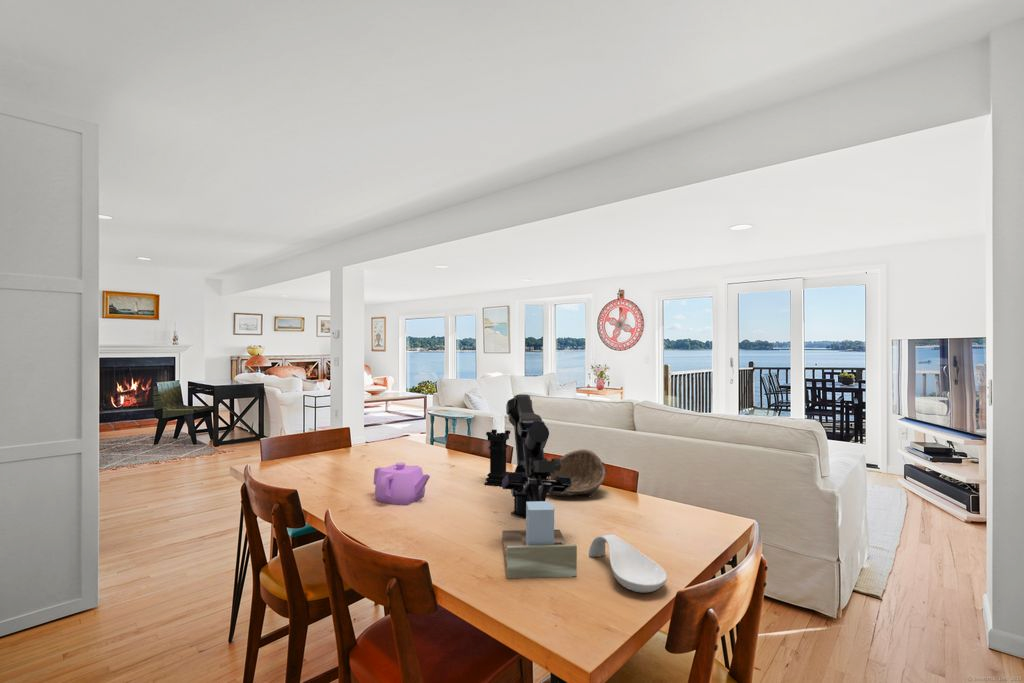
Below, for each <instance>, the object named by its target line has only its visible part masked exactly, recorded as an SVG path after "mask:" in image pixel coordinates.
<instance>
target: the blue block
mask: <svg viewBox="0 0 1024 683" xmlns="http://www.w3.org/2000/svg"><path fill="white" fill-rule="evenodd" d="M525 530H526V546H528V545H554V530H555V508H554V506H553V504H552V501H549V500H547V501H546V500H545V501H535V502H526V518H525Z"/></svg>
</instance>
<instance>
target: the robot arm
mask: <svg viewBox="0 0 1024 683" xmlns="http://www.w3.org/2000/svg"><path fill="white" fill-rule="evenodd" d="M505 409H506V410H505V413H506V415H507V416H508V422H509V423H510V424H511V425H512V427H513V429H514V441H515V450H516V463H517V465H516V467H515V470H514V471H513V472H512V471H508V472H509V473H508V474H507V475H506V476H505V477H504V478H503V480H502V487H501V488H502V489H503V490H510V493H511V496H512V498H514V499H513V500H514V504H513V505H514V506H513V509H514V510H512V511H511V512H510V514H511V515H514V516H516V517H520V518H523V519H526V502H535V501H546V499H547V495H548V492H549V491H550V490H552V491H553V492H560V493H562V492H565V491H566V490H567V489H569V488H570V487H571V486H572V481H571V478H570V477H569V476H559V475H557V476H556V477H555V478H554V479H553V480H552V479H547V478H548V477H550V476H551V473H553V474H555V471H560V469H561V462H560V458H556V457H554V458H551V460H548V458H547V457H545V451H544V449H545V447H546V445H547V442H548V439H549V436H550V430H549V428H548V427H547V425H546V424H545V422H544V421H543V419H542V417H541V415H539V414H536V413H535V411H534V408H533V400H532V399H531V396H530V395H528V394H516V395H514V396H513V398H510V399H508V400H507V402H506V407H505Z"/></svg>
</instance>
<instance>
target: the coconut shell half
mask: <svg viewBox="0 0 1024 683" xmlns="http://www.w3.org/2000/svg"><path fill="white" fill-rule="evenodd" d="M559 459H560V462H561V469H560V471H555V474H553V473H551V476H550V477H547V479H552V480H553V479H554V478H555V477H556V476H557V475H559V476H569V477H570V478H571V481H572V486H571V487H570V488H569V489H567V490H566V491H565V492H562V493H560V492H553V491H552V490H550V491H549V492H548V493H547V495H550V496H553V495H554V496H558V497H559V496H562V497H563V496H565V497H570V496H575V495H579V496H580V495H581V496H582V495H585V494H586V495H587V497H589V496H591V497H593V496H594V495H595V494H596V493H597V490H598V489H599V487H601V485H602V484H603V483H604V481H605V479H606V474H607V473H608V470H607V469H606V468H605V467H606V466H605V462H604V461H602V459H601V458H600V457H599V456H598V455H597V454H596V453H595V452H594V451H593V450H588V449H581V448H580V449H577V450H576V449H575V450H573V451H570V452H567V453H566V454H564V455H563V456H561V457H560V458H559Z"/></svg>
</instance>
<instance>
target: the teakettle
mask: <svg viewBox="0 0 1024 683" xmlns="http://www.w3.org/2000/svg"><path fill="white" fill-rule="evenodd" d="M430 478H431V474H427V473H424V471H423V468H422V467H420V466H419V465H407V464H406V462H397V463H395V464H393V465H389V466H386V467H379V466H378V467H376V468H374V473H373V484H374V485H375V488H374V497H375V500H376V502H380V503H383V504H389V505H398V506H409V505H411V504H413V503H415V502H417V501H419V500H421V499H422V498H424V496H425V494H426V485H427V483H428V481H429V479H430Z"/></svg>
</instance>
